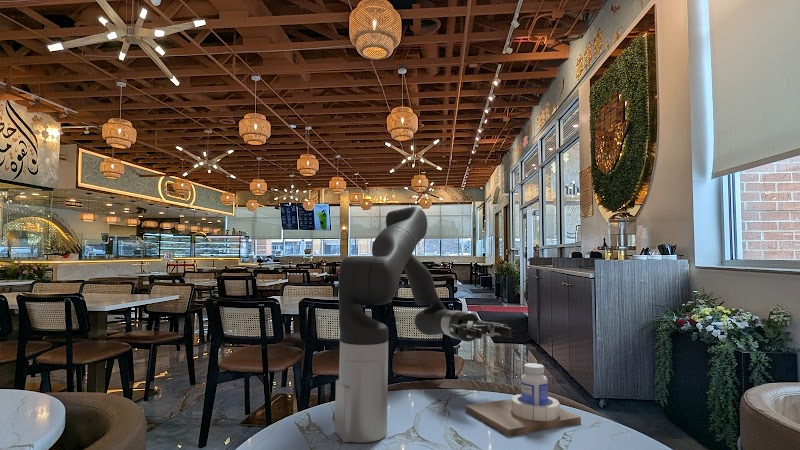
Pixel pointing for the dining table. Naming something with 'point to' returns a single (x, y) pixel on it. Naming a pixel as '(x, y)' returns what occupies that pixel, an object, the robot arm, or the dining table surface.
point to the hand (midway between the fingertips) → (495, 333)
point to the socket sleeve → (535, 409)
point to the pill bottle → (534, 385)
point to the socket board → (516, 418)
